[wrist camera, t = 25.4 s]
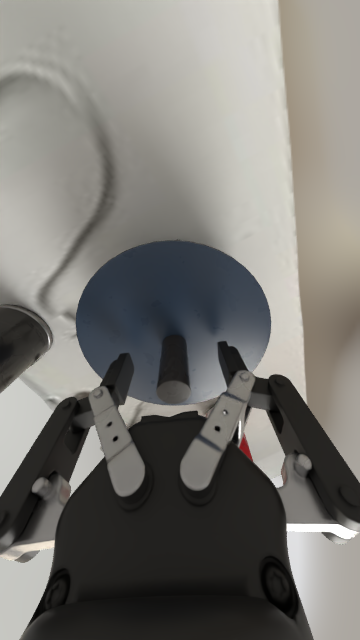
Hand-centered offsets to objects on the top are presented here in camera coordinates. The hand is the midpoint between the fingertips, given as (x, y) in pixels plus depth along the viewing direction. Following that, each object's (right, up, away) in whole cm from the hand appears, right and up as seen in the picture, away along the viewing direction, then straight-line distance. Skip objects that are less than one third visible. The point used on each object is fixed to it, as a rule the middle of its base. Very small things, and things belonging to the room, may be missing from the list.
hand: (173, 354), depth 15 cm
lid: (0, +1, +2) cm, 2 cm away
